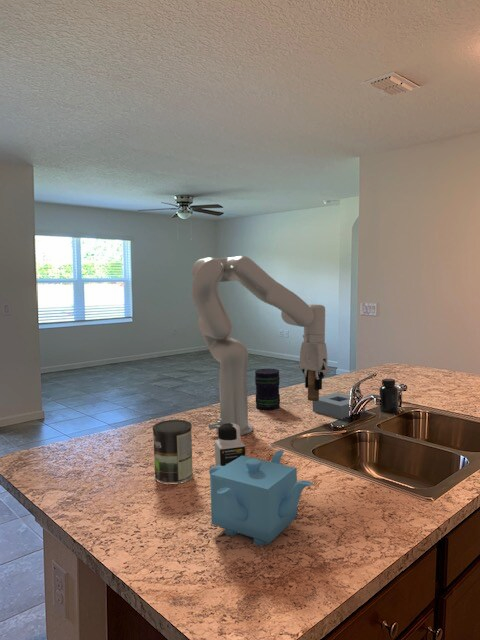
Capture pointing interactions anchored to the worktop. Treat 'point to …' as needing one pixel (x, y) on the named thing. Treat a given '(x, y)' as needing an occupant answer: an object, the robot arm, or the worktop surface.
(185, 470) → the coffee can
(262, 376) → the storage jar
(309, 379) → the peg
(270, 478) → the teakettle
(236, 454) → the medicine bottle
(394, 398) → the supplement bottle
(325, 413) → the socket
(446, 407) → the worktop surface
